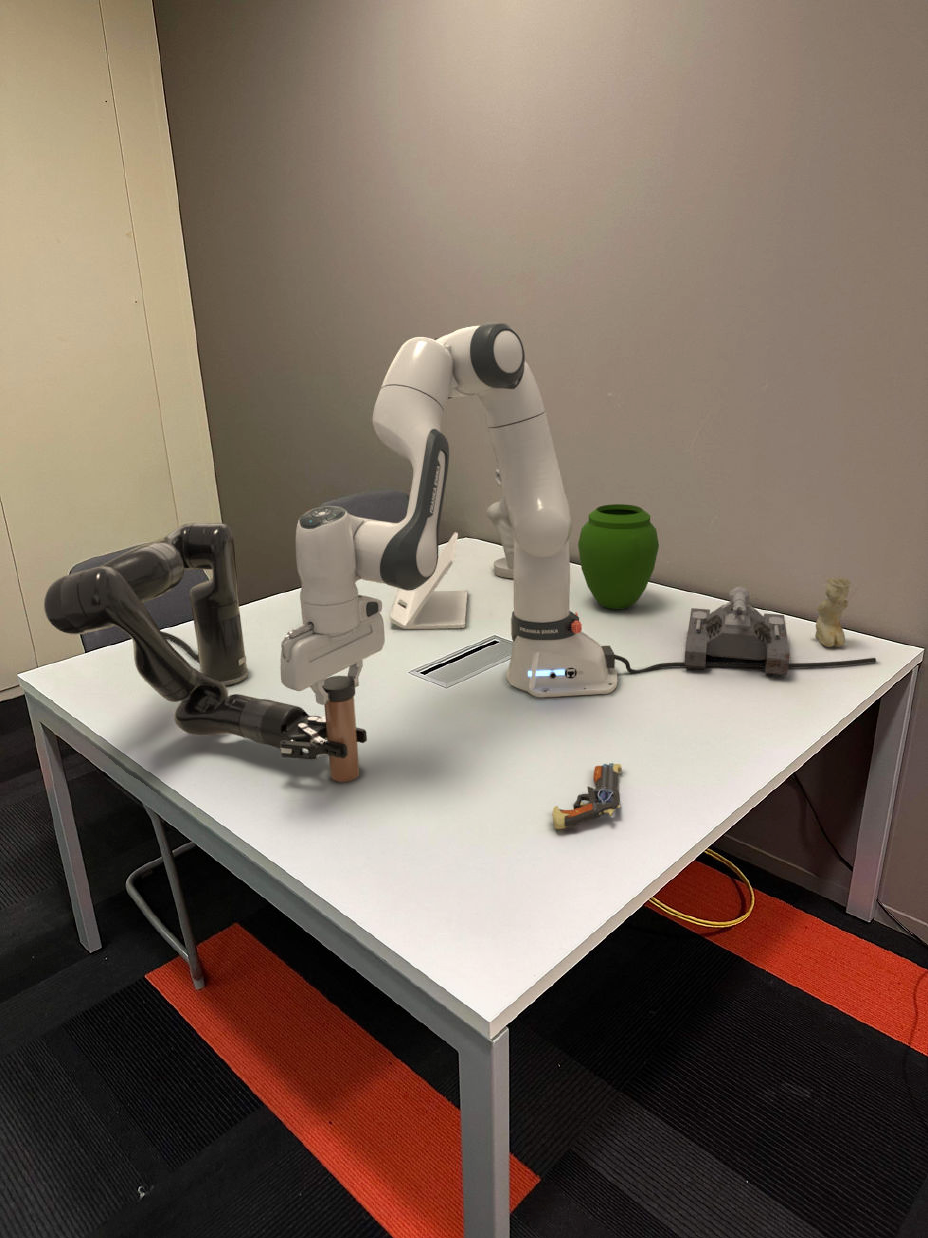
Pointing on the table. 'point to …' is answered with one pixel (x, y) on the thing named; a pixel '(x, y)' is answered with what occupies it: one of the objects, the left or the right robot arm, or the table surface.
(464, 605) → the tablet stand
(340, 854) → the table surface
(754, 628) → the toy
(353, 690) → the lid
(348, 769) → the jar
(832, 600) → the sculpture
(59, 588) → the left robot arm
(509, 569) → the bust sculpture
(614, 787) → the toy gun
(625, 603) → the vase
